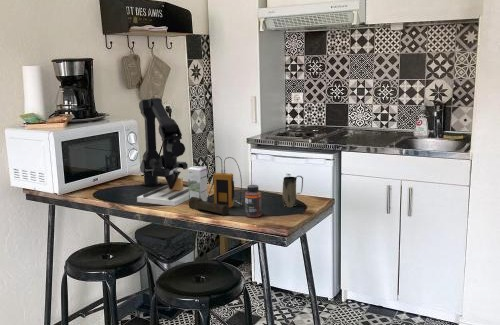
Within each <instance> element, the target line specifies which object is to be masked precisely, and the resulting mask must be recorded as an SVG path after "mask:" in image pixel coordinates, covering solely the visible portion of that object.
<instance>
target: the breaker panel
mask: <svg viewBox="0 0 500 325" xmlns="http://www.w3.org/2000/svg"><path fill="white" fill-rule="evenodd" d="M186 201H189V188H188V186H183V190H181V191H178V190H169V189H168V184H166V185H163V186H161V187H157V188H155V189H154V190H150V191H148V192H146V193H144V194H142V195H139V196H137V197H136V203H144V204H153V205H154V204H155V205H162V206H172V207H176V206H178V205H180V204H182V203H184V202H186Z"/></svg>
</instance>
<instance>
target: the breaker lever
mask: <svg viewBox="0 0 500 325" xmlns="http://www.w3.org/2000/svg"><path fill="white" fill-rule="evenodd" d="M183 187H184V182H183V177H178V178H177V180H176V182H175V185H174V187H173V189H170V188H169V186H168V189H169V190H178V191H181V190H183Z"/></svg>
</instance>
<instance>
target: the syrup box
mask: <svg viewBox="0 0 500 325" xmlns="http://www.w3.org/2000/svg"><path fill="white" fill-rule="evenodd" d="M207 171H208V170H207V167H206V166H197V165H194V166H190V167H189V168H187V182H188V183H187V184H188V186H187V187H188V188H189V200H190V198H191V197H197V198H201V199H202V201H207V202H209V200H207V198H208V177H207V174H208V173H207ZM189 200H188V201H189Z"/></svg>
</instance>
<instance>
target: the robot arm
mask: <svg viewBox="0 0 500 325" xmlns="http://www.w3.org/2000/svg"><path fill="white" fill-rule="evenodd" d="M138 108H139V110H140V114H141V116H142V117H143V119H144V130H145V131H144V133H145V134H144V137H145V152H144V153H143V155H142V161H141V163H140V167H139V169H140V170H139V171H140V173H142V174H143V177H144V178H143V180H144V183H142V184H141V185H142V186H147V187H156V186H157V185H160V184H162V183H161V181H159V177H160V178H165V181H166V183H167V185H168V186H169V188H170V189H173V187H174V185H175V182H176V180H177V178H179V175H180V174H181V173H182V171H179V170H178V169H182V170H188V166H189V165H188V163H187V162H186V161H178V158H179V157H180V156H183V155H184V154H185V152H186V146H185V144H184V143H183V142H181V140H182V138H183V137H182V135H183V134H182V131H181V129H180V127H179V125H178V123H177V122H176V121H175V120H174V118H171V117H170V116H169V114H168V112H167V110H166V108H165V106H164V105H163V101H162V99H161V98H159V97H150V98H147V99H146V98H145V99H141V101H139V103H138ZM156 121H157V122H158V124H159V125H158V134H159V135H160V139H161V141H162V142H161V143H162V146H161V147H162V155H161V154H160V153H159V152H158V151H157V134H156Z"/></svg>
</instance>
